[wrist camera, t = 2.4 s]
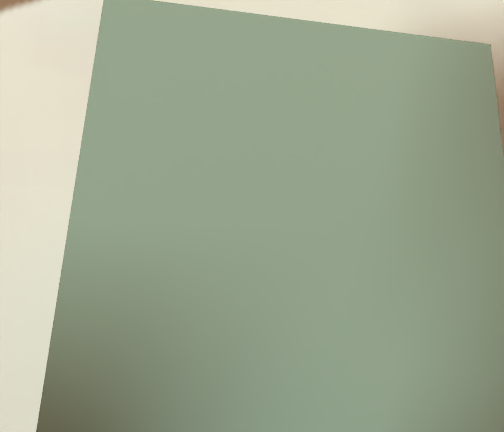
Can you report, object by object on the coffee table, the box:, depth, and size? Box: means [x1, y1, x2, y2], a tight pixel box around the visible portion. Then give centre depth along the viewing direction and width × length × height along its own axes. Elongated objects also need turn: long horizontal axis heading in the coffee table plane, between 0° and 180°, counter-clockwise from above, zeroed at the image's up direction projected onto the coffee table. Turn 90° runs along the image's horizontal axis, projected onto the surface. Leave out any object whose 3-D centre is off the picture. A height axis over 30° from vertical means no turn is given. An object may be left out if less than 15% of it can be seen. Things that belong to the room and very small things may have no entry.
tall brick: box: [36, 0, 504, 432], centre depth 11 cm, size 5×5×12 cm
